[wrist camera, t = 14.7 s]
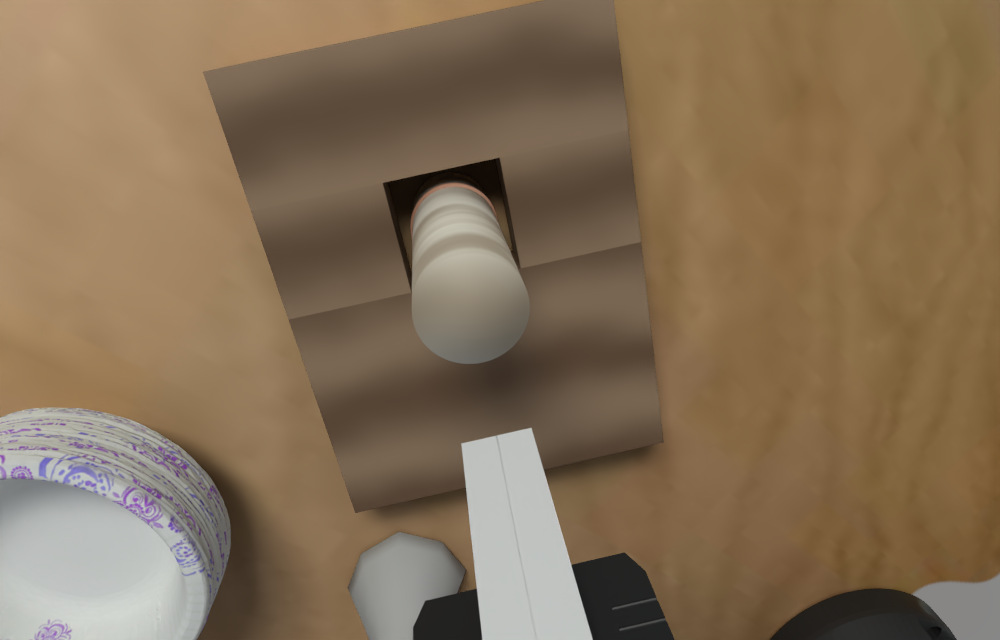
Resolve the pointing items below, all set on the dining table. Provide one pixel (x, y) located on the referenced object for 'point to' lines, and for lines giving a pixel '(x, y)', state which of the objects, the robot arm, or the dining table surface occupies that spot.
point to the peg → (463, 273)
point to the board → (381, 252)
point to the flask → (401, 583)
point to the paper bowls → (104, 530)
